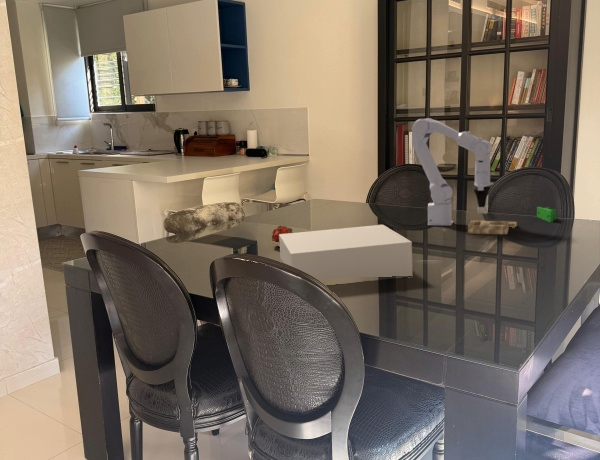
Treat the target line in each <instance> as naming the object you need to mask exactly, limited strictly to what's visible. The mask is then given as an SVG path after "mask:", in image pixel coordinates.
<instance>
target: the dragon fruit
mask: <svg viewBox="0 0 600 460" xmlns="http://www.w3.org/2000/svg"><path fill="white" fill-rule="evenodd" d="M271 233H272V236H271V241H272V242H273V241H275V242H279V234H288V233H294V232H293V228H291V227H288V226H287V225H279V226H277V227H276V228H274V229H273V230H272V232H271Z"/></svg>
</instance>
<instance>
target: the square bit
mask: <svg viewBox="0 0 600 460" xmlns="http://www.w3.org/2000/svg"><path fill="white" fill-rule="evenodd" d="M488 210H489V194H488V195H487V197H486V202H485V207H479V206H478V205H477V213H476V214H488Z"/></svg>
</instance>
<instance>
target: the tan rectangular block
mask: <svg viewBox="0 0 600 460" xmlns="http://www.w3.org/2000/svg"><path fill="white" fill-rule="evenodd" d="M509 227H512V228H511V229H516V228H517V221H509ZM515 227H516V228H515Z"/></svg>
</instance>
